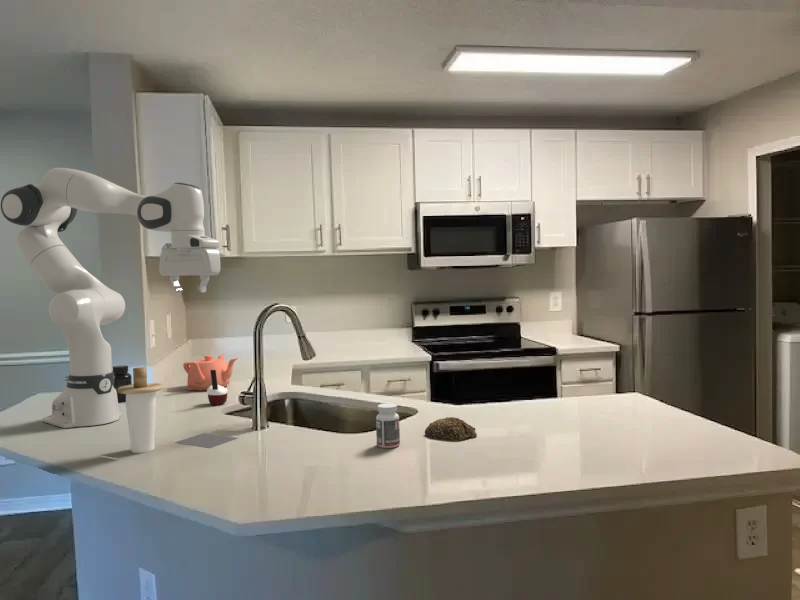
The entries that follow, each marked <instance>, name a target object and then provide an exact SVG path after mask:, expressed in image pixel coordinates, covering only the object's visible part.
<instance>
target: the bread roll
mask: <svg viewBox="0 0 800 600" xmlns="http://www.w3.org/2000/svg"><path fill="white" fill-rule="evenodd" d="M424 435H425V436H426V437H429V438H432V439H436V440H440V441H453V442H460V441H464V440H466V439H467V438H471V439H476V438H477V435H478V434H477V433H476V427H474V426H472V425H470V424H469V423H467V422H466V421H465V420H462V419H460V418H459V417H454V416H451V417H450V416H449V417H448V416H447V417H444V418H439V419H436V420H435V421H433V422H430V423H429V424H428V425H427V427H426V428H425V430H424Z"/></svg>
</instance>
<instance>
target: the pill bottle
mask: <svg viewBox="0 0 800 600" xmlns="http://www.w3.org/2000/svg"><path fill="white" fill-rule="evenodd" d="M397 406H398V405H397V404H395V403H380V404H378V405H377V412H378V414H377V415H376V416H375V427H376V428H375V429H376V435H375V436H376V446H377V447H378V448H381V449H393V448H398V447H399V446H400V443H401V434H400V433H401V432H400V416H399V414H398V413H397V410H398V407H397Z"/></svg>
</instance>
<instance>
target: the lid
mask: <svg viewBox="0 0 800 600" xmlns="http://www.w3.org/2000/svg"><path fill="white" fill-rule="evenodd" d="M132 372H133V373H132V377H133V378H132V384H131V385H125V386H121V387H119V388H118V393H121V394H142V393H150V392H156V393H157V392H160V391H161V390H163V384H162V383H159V382H158V383H156V382H148V375H147V373H148V371H147V367H145V366H144V367H143V366H142V367H141V366H140V367H134V368H132Z"/></svg>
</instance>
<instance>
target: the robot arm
mask: <svg viewBox="0 0 800 600" xmlns="http://www.w3.org/2000/svg"><path fill="white" fill-rule="evenodd" d="M0 200H1V201H0V210H1V214H2V216H3V217H4V218H5V219H6V220H7V221H8V222H10V223H12V224H14V225H17V226H22V229H20V231H19V232H18V233H17V234H16V239H15V241H16V244H17V246H18V247H17V248H18V249H19V250H20V252H21V254H22V256H23V258H24V260H25V261H26V263H28V265H29V266H30V268H31V269H32V271H34V273H35V274H36V276H37V277H38V278H39V280H41V281H42V283H43V284H44V285H45V287H46V288H47V289H49V290H50V291H51V292H54V293H56V295H55V296H54V297H52V298H51V300H50V302H49V304H48V315H49V318H50V320H51V321H52V322H53V323H54V324H55V325H56V326H58V328H59V329H60V331H61V332H62V334H63V337H64V338H65V341H66V344H67V349H68V357H69V371H70V372H69V373H70V374H69V375H68V376H65V377H64V379H65V380H64V381H66V386H65V387H66V388H65V389H64V390H63V391H62V392H61V393H60V394H59V395H58V396H56V397H55V399H53V401H52V403H51V414H50V415H47V416H44V417H43V419H42V422H43V423H48V424H49V425H53V426H56V427H59V428H62V429H67V428H69V429H70V428H75V427H77V428H78V427H88V426H89V427H90V426H98V425H99V426H100V425H104V424H109V423H112V422H116V421H118V420H120V418H121V416H122V415H123V412H122V411H121V410H120V408H119V403H118V399H117V392H116V389H115V388H114V387H113V384H114V372H113V363H112V361H113V359H112V358H113V357H112V355H113V354H112V347H111V344H110V343H109V342H108V341H107V340H106V339H105V338H104V336H103V333H102V330H101V326H104V325H109V324H111V323H113V322H115V321H117V320H119V319H120V318H122V317H123V316H124V313H125V310H126V302H125V299H124V297H123V295H122V294H120V293H119V292H117V291H116V290H113V289H111V288H109V287H108V286H107V285H106V284H104V283H103V282H101V281H100V280H99V279H98V278H97V277H95V276H94V275H93V274H92V273H90V272H89V271H88V270H87V269H85V267H83V266H82V264H81V263H80V262H79V261H78V259H77V258H76V257H75V256H74V255H73V253H71V251H70V250H69V249H68V247H67V246H66V244H65V243H64V242H63V241H62V240H61V239H60V237H59V236H58V235H59V234H58V233H61V232H64V231H65V230H67V228H68V225H70V224H71V223H72V222H73V221H74V219H75V218H76V216H77V213H78V211H83V212H89V213H95V214H96V213H98V214H99V213H100V214H123V215H124V214H125V215H132V216H136V217H137V218H138V219H137V220H138V222H139V223H140V225H141V226H142V227H143V228H145V229H147V230H150V231H158V232H165V233H170V240H171V241H170V243H169V242H168V243H167V242H166V243H165V244H164V245H163V246H162V247H161V252H160V256H159V267H158V269H159V270H158V271H159V274H160V275H161V276H162V277H164V276H165V277H166V276H169V281H170V283H171V285H172V290H173V293H182V292H183V289H182V288H183V285H180V283H179V280H180V276H182V277H183V276H199V280H200V284H199V285H197V292H198V293H206V292H207V285H208V283H209V281H210V276H218V275H219V274H220V272H221V254H220V251H219V249H218V248H220V242H219V240H218V239H215V238H212V237H210V236H207V235H206V234H205V233H206V231H205V230H206V229H205V226H204V218H205V203H204V195H203V191H202V189H200V187H199V186H197V185H195V184H189V183H184V182H174V183H171V185H170V186H169V187H168V188H167V189H165V190H162V191H161V192H159V193H156V194H153V195H150V196H146V195H143V194H139V193H136V192H133V191H131V190H129V189H127V188H125V187H123V186H120V185H118V184H116V183H114V182H112V181H110V180H108V179H105V178H103V177H101V176H98V175H96V174H94V173H90V172H87V171H84V170H79V169H75V168H68V167H54V168H51V169H49V170H48V171H46V173H45V174H44V176H43V179H42V182H41V183H40V184H39V185H37V186H36V185H34V184H32V183H31V184H29V183H28V184H26V185H22V186H20V187H19V186H18V187H15V188H12V189H10V190H8V191H6V192H5V193H4V194H3V196H2V198H1V199H0Z"/></svg>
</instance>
